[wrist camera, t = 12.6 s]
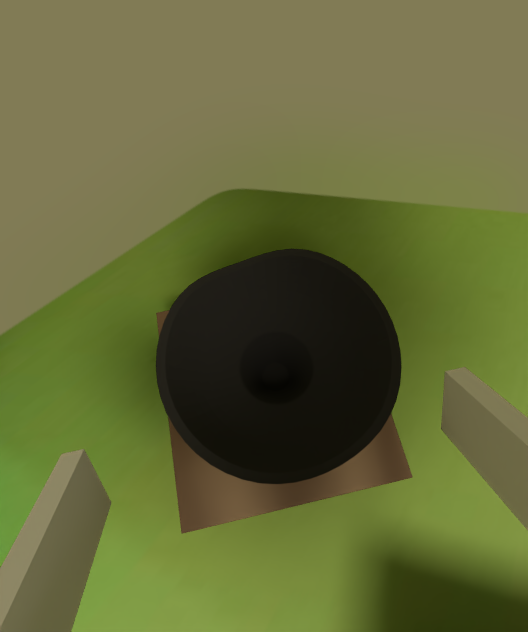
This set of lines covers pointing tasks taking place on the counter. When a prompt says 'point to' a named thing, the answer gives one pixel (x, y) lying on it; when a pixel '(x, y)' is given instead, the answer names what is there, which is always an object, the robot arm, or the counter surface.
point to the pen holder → (278, 366)
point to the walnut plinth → (255, 498)
